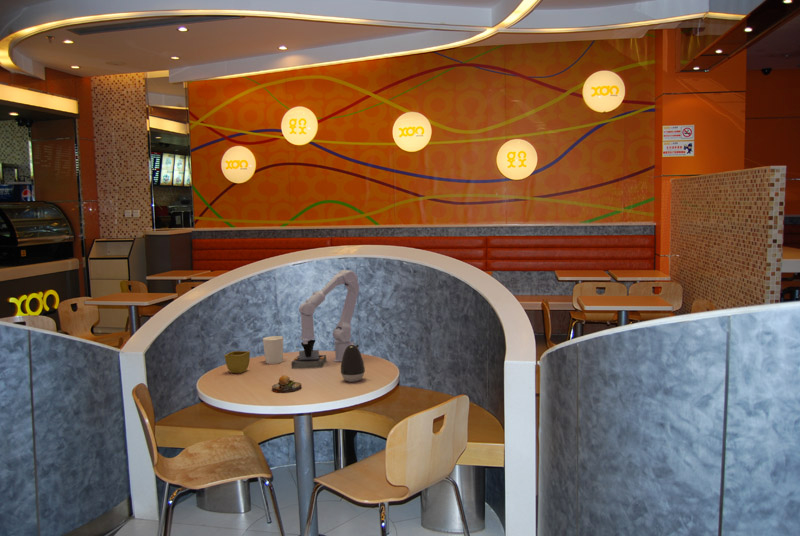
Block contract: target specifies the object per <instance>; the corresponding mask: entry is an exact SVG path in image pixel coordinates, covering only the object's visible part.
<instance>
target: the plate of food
mask: <svg viewBox="0 0 800 536" xmlns="http://www.w3.org/2000/svg"><path fill="white" fill-rule="evenodd" d="M301 389H302V383H300V382H297V381H294V380H291V378H290V376H288V375H286V374H285V375H281V376H280V377H279V379H278V382H277V383H276V384H273V385H272V386H271V390H272V392H274V393H276V394H287V393H294V392H298V391H300V390H301Z"/></svg>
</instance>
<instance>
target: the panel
mask: <svg viewBox="0 0 800 536" xmlns="http://www.w3.org/2000/svg"><path fill="white" fill-rule="evenodd" d="M319 355H320V351H319V349H313V350H311V357H306V355H305V351H304V349H303V350H301V349H300V350H299V352H298V356H299V358H300V359H319Z"/></svg>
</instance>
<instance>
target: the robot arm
mask: <svg viewBox="0 0 800 536" xmlns="http://www.w3.org/2000/svg"><path fill="white" fill-rule="evenodd" d="M340 285H341V286H342V285H344V286H345V288H346V290H347V293H346V295H345V296H346V297H345V300H344V303H343V308H342V312H341V315H340V319H339V321H338V322H337V324H336V327H335V328H334V329H333V331H332V336H333V338H334V339H335V340H334V350H335V351H334V352H335V359H334V360H333V362H335V363H337V362H342V357H343V354H344V351H345V349H346V348H347V346H349V345H355V342H354V341H351V338H352V333H351V331H352V326H351V322H352V319H353V315H354V311H355V307H356V303H357V299H358V296H359V292H360V286H359V281H358V275H357V274H356V272H355V271H353V270H347V269H341V270H339V272H338V273H336V274H335V275H334V276H333V277H332V278H331V279H330V281H328V282H327V284H325V286H324V287H323V288H322V289H321V290H320V291H319V290H318V291H314V292H312V293H311V294H312V295H311V296H310V297H309V298H308V299H305V301H304V302H302V303H301V304H300V305H299V308H298V310H299V313H300V324H301V327H300V328H301V336H300V337H299V340H302V342H301V343H300V344H301V346H302V348H303V350H304V351H305V355H306V357H311V350H314V345H315V344H316V338H315V328H314V313H315V309H317V308H318V307H319V306H320V305H321V304H322V303H323V302H325V299H326V296H327V295H328V294H329V293H330V292H332V291H333V290H334V289H335V288H336V287H337V286H340Z"/></svg>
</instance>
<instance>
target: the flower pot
mask: <svg viewBox="0 0 800 536" xmlns="http://www.w3.org/2000/svg"><path fill="white" fill-rule="evenodd" d="M250 354H251V351H249V350H247V351H246V350H243V351H242V350H241V351H239V350H235V351H230V352H228V353H226V354H224V355H223V356H224V360H225V364H226V367H227V370H228V371H229V372H230V373H231V374H241V373H244V372H246V371H247V370H248V367H249V364H250V360H251V359H250V357H251V355H250Z"/></svg>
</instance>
